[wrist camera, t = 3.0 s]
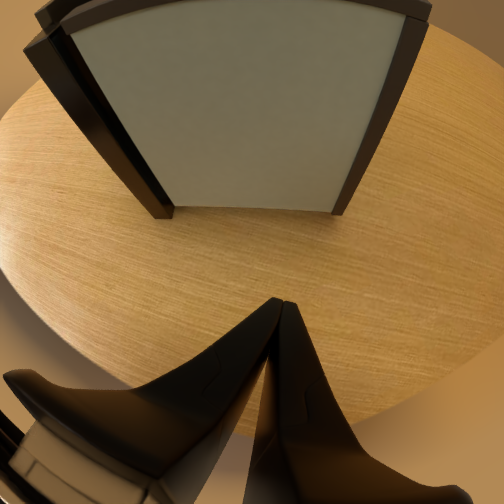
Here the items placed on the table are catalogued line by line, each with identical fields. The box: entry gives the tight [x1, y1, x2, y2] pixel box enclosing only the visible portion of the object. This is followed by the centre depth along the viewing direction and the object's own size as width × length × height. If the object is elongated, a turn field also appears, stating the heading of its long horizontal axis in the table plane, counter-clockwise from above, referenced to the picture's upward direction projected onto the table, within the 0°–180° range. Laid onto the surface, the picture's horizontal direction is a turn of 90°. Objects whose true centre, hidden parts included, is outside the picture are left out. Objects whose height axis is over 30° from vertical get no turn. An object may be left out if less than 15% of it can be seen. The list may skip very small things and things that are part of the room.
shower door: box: [60, 0, 432, 216], centre depth 12 cm, size 1×12×16 cm, turn 86°
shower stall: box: [23, 0, 175, 219], centre depth 15 cm, size 14×15×18 cm
